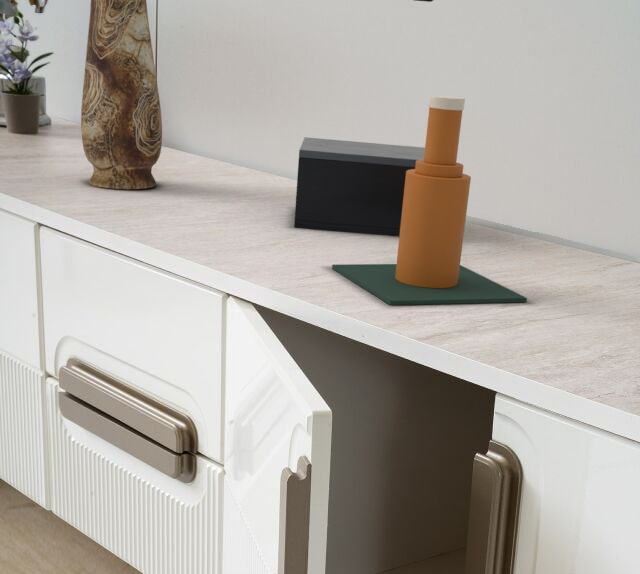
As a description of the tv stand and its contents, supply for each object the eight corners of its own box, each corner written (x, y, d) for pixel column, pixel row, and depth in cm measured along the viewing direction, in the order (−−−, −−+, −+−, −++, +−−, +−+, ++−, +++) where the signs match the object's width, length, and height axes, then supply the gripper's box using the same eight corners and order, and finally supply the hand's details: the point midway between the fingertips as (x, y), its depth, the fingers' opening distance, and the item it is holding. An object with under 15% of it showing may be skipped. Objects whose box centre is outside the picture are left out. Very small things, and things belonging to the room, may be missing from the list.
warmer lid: (437, 155, 138) (438, 148, 138) (444, 169, 127) (445, 162, 126) (303, 144, 138) (304, 137, 138) (298, 157, 127) (299, 149, 126)
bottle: (440, 272, 111) (461, 94, 105) (468, 287, 106) (492, 101, 100) (385, 273, 109) (403, 91, 103) (411, 288, 104) (432, 98, 98)
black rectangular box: (423, 219, 141) (430, 155, 138) (428, 238, 130) (436, 169, 127) (299, 208, 141) (303, 144, 138) (294, 227, 130) (298, 157, 127)
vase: (170, 191, 146) (175, -65, 134) (88, 190, 142) (86, -73, 130) (149, 178, 154) (153, -63, 143) (71, 177, 150) (68, -72, 139)
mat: (456, 267, 116) (457, 263, 116) (526, 302, 105) (527, 297, 104) (331, 268, 111) (332, 264, 111) (390, 305, 100) (390, 300, 99)
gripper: (480, -197, 112) (457, 3, 119) (467, -175, 125) (447, 3, 133) (405, -203, 112) (387, -3, 119) (400, -181, 125) (384, -2, 133)
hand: (419, 0), depth 126 cm, fingers closed
